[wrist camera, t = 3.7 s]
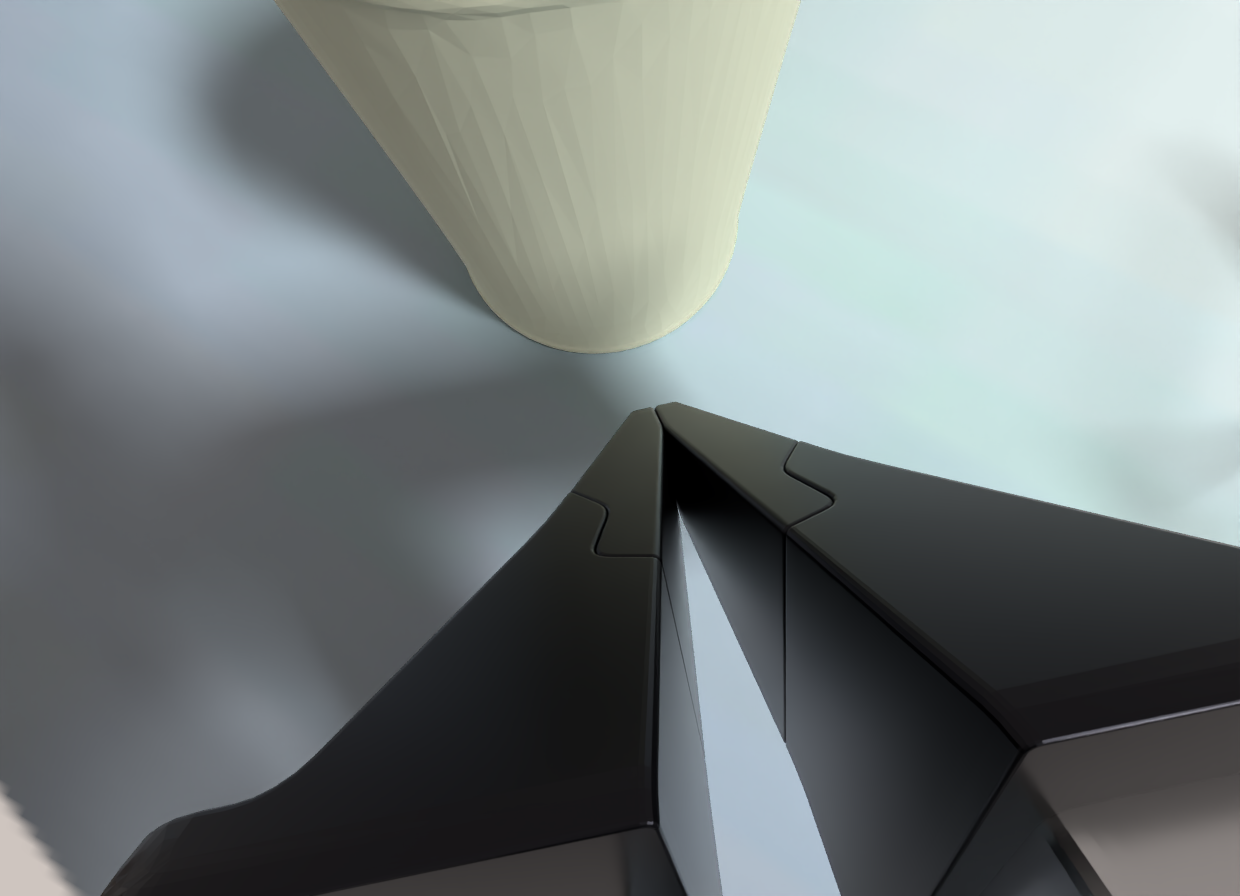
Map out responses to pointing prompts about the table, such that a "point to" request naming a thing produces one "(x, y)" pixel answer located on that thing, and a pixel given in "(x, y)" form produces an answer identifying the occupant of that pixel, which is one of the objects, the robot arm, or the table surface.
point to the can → (567, 143)
